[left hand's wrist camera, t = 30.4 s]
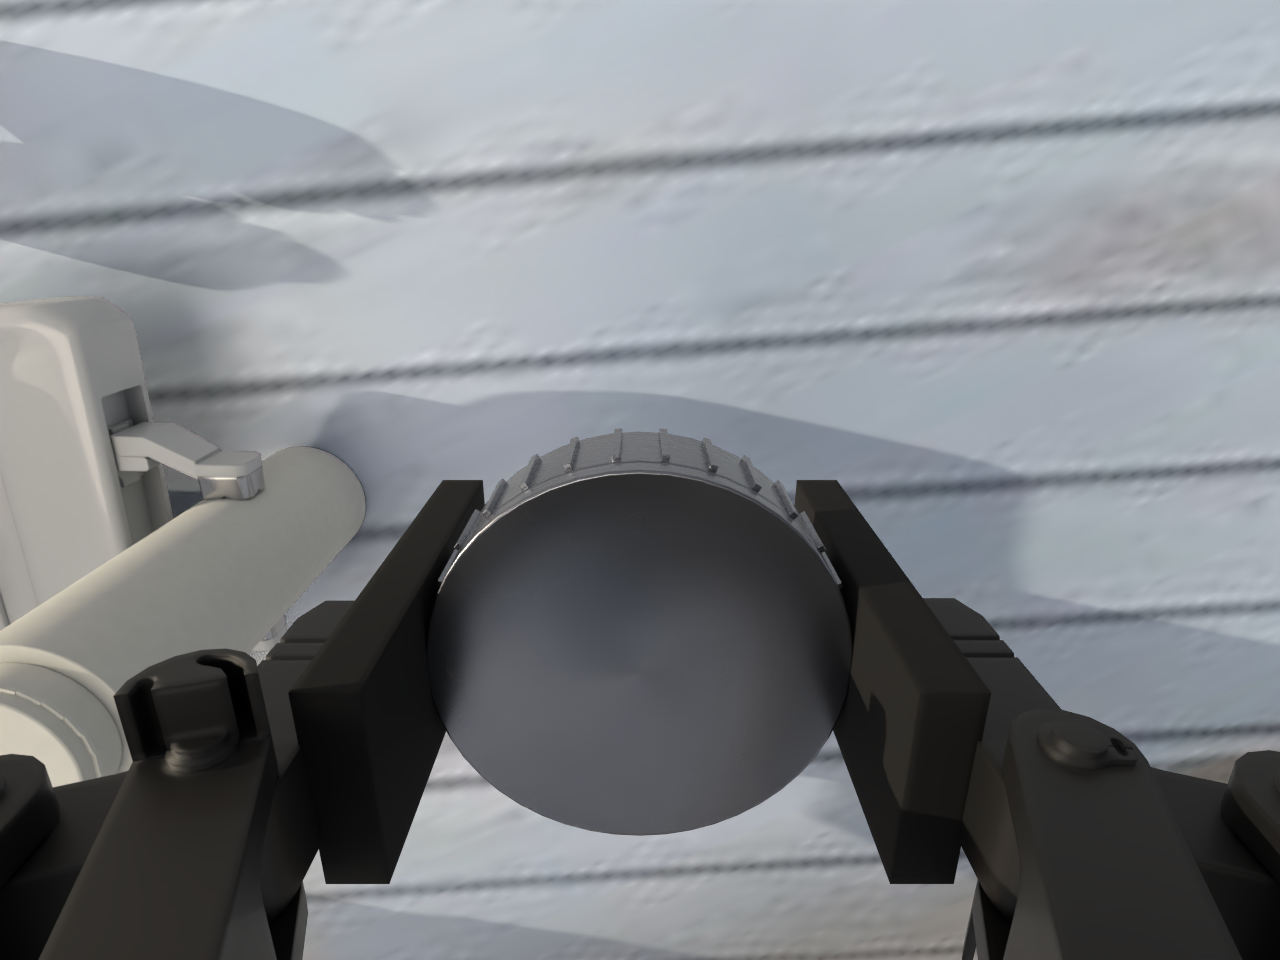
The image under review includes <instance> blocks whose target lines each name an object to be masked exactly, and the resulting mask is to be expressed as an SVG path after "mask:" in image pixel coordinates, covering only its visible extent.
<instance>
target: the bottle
mask: <svg viewBox="0 0 1280 960" xmlns="http://www.w3.org/2000/svg"><path fill="white" fill-rule="evenodd" d="M262 466H263V474H264V482H265V489H263V490H262V491H258V492H257V494H256V495H255V496H253V497H252V498H249V499H245V500H230V499H228V498H227V497H223V498H222V499H216V500H208V499H203V500H202V501H200V502H199V503H197V504H196V505H194V506H193V507H191V508H189V509H188V510H186V511H185V512H183V513H182V514H180V515H179V516H177V517H176V518H174V519H172V520H171V521H169V522H168V523H166V524H165V525H163V526H162V527H160V528H159V529H157V530H155V531H154V532H152V533H151V534H149V535H148V536H146V537H145V538H143V539H141V540H140V541H138V542H137V543H135V544H134V545H132V546H131V547H129V548H128V549H126V550H124V551H123V552H121V553H120V554H118V555H117V556H115V557H114V558H112V559H111V560H109V561H107V562H106V563H104V564H103V565H101V566H100V567H98V568H97V569H95V570H94V571H92V572H90V573H89V574H87V575H86V576H84V577H83V578H81V579H80V580H78V581H77V582H75V583H73V584H72V585H70V586H69V587H67V588H66V589H64V590H63V591H61V592H60V593H58V594H56V595H55V596H53V597H52V598H50V599H49V600H47V601H46V602H44V603H43V604H41V605H39V606H38V607H36V608H35V609H33V610H32V611H30V612H29V613H27V614H25V615H24V616H22V617H21V618H19V619H18V620H16V621H15V622H13V623H12V624H10V625H8V626H7V627H5V628H4V629H2V630H1V631H0V755H7V754H19V755H29V756H34V757H35V758H36V759H38V760H39V761H41V762H42V763H43V764H45V767H46V770H47V773H48V775H49V778H50V781H51V784H52V787H57V786H62V785H66V784H71V783H76V782H81V781H85V780H90V779H95V778H99V777H104V776H109V775H114V774H118V773H121V772H125V771H128V770H129V768H130V766H131V764H132V762H133V761H132V758H131V754H130V751H129V748H128V744H127V741H126V737H125V734H124V731H123V727H122V724H121V721H120V717H119V714H118V710H117V707H116V704H115V700H114V697H113V696H114V694H115V693H116V692H117V691H118V690H119V689H120V688H121V687H122V686H123V685H124V683H125V682H126V681H127V680H129V679H130V678H132V677H134V676H135V675H137V674H138V673H140V672H141V671H143V670H145V669H146V668H148V667H150V666H152V665H155V664H157V663H159V662H162V661H164V660H167V659H169V658H172V657H174V656H178V655H182V654H186V653H190V652H195V651H199V650H207V649H225V648H226V649H232V650H237V651H242V652H245V653H247V654H249V653H250V652H251V651H252V650H253V648H254V647H255V646H256V645H257V644H258V643H259V642H260V641H261V640H262V638H263V637H264V636H265V635H266V634H267V633H268V632H269V631H270V629H271V628H272V627H273V626H274V625H275V624H276V623H277V622H278V621H279V619H280V618H281V617H282V616H283V615H284V614H285V613H286V612H287V610H288V609H289V608H290V607H291V606H292V605H293V604H294V603H295V602H296V600H297V599H298V598H299V597H300V596H301V595H302V594H303V593H304V592H305V590H306V589H307V588H308V587H309V586H310V585H311V584H312V583H313V581H314V580H315V579H316V578H317V577H318V576H319V575H320V574H321V573H322V571H323V570H324V569H325V568H326V567H327V566H328V565H329V564H330V562H331V561H332V560H333V559H334V558H335V557H336V556H337V555H338V554H339V552H340V551H341V550H342V549H343V548H344V547H345V546H346V545H347V543H348V542H349V541H350V540H351V539H352V538H353V537H354V536H355V534H356V533H357V532H358V531H359V529H360V527H361V525H362V523H363V521H364V517H365V511H366V501H365V495H364V492H363V488H362V486H361V484H360V482H359V480H358V478H357V477H356V475H355V474H354V473H353V471H352V470H351V469H350V468H349V467H348V466H347V465H346V464H345V463H344V462H342V461H341V460H340V459H338V458H337V457H335V456H334V455H332V454H330V453H328V452H325V451H322V450H319V449H316V448H311V447H292V448H287V449H284V450H281V451H279V452H276V453H275V454H273V455H271V456H270V457H268V458H267V459H265V460H264V461H262Z"/></svg>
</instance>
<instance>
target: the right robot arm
mask: <svg viewBox="0 0 1280 960" xmlns="http://www.w3.org/2000/svg"><path fill="white" fill-rule="evenodd" d="M163 464H164V465H166V466H169V467H171V468H173V469H175V470H177V471H179V472H181V473H183V474H186V475H188V476H190V477H192V478H194V479H196V480H199V483H200V488H201V493H202V497H203V499H208V500H216V499H222V498H223V497H227V498H228V499H230V500H245V499H249V498H252V497H253V496H255V495H256V494H257V492H258V491H262V490H263V489H265V482H264V474H263V466H262V460H261V454H260V453H258V452H247V451H220V447H218V446H216V445H214V444H213V443H211V442H209V441H207V440H206V439H204V438H202V437H200V436H199V435H197V434H195V433H193V432H192V431H190V430H188V429H186V428H185V427H183V426H181V425H179V424H178V423H173V422H154V419H153V414H152V409H151V404H150V399H149V394H148V389H147V385H146V380H145V375H144V370H143V365H142V360H141V355H140V350H139V345H138V339H137V334H136V329H135V325H134V322H133V320H132V318H131V317H130V316H129V315H128V314H127V313H125V312H124V311H123V310H122V309H120V308H119V307H117V306H116V305H114V304H113V303H111V302H110V301H108V300H107V299H105V298H103V297H98V296H70V297H54V298H43V299H34V300H24V301H15V302H6V303H0V631H1V630H2V629H4V628H5V627H7V626H8V625H10V624H12V623H13V622H15V621H16V620H18V619H19V618H21V617H22V616H24V615H25V614H27V613H29V612H30V611H32V610H33V609H35V608H36V607H38V606H39V605H41V604H43V603H44V602H46V601H47V600H49V599H50V598H52V597H53V596H55V595H56V594H58V593H60V592H61V591H63V590H64V589H66V588H67V587H69V586H70V585H72V584H73V583H75V582H77V581H78V580H80V579H81V578H83V577H84V576H86V575H87V574H89V573H90V572H92V571H94V570H95V569H97V568H98V567H100V566H101V565H103V564H104V563H106V562H107V561H109V560H111V559H112V558H114V557H115V556H117V555H118V554H120V553H121V552H123V551H124V550H126V549H128V548H129V547H131V546H132V545H134V544H135V543H137V542H138V541H140V540H141V539H143V538H145V537H146V536H148V535H149V534H151V533H152V532H154V531H155V530H157V529H159V528H160V527H162V526H163V525H165V524H166V523H168V522H169V521H171V520H172V519H173V514H172V509H171V504H170V499H169V494H168V489H167V484H166V479H165V474H164V469H163ZM286 632H287V625H286V618H285V614H284V615H283V616H282V617H281V618H280V619H279V621H278V622H277V623H276V624H275V625H274V626H273V627H272V628H271V629H270V631H269V632H268V633H267V634H266V635H265V636H264V637H263V638H262V640H261V641H260V642H259V643H258V644H257V645H256V646H255V647H254V648H253V650H252V651H268V650H271V649H272V648H273V647H274V646H275V645H276V644H277V643H280V641H281V640H280V639H281V638H282V636H283V635H284V634H285V633H286Z"/></svg>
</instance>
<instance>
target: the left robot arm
mask: <svg viewBox="0 0 1280 960" xmlns="http://www.w3.org/2000/svg"><path fill="white" fill-rule="evenodd" d="M484 505H485V503H484V491H483V480H443V481H442V482H441V484H440V485H439V486H438V488H437V489H436V491H435V492H434V493H433V495H432V496H431V497H430V499H429V500H428V501H427V503H426V504H425V506H424V507H423V508H422V510H421V511H420V512H419V514H418V515H417V517H416V518H415V519H414V521H413V522H412V523H411V525H410V526H409V528H408V529H407V530H406V532H405V533H404V534H403V536H402V537H401V539H400V540H399V541H398V543H397V544H396V545H395V547H394V548H393V549H392V551H391V552H390V554H389V555H388V556H387V558H386V559H385V560H384V562H383V563H382V565H381V566H380V567H379V569H378V570H377V571H376V573H375V574H374V576H373V577H372V578H371V580H370V581H369V582H368V584H367V585H366V587H365V588H364V589H363V591H362V592H361V593H360V595H359V596H358V598H357V599H356V600H355V601H325V602H323V603H321V604H320V605H318V606H317V607H315V608H313V609H312V610H310V611H309V612H307V613H305V614H304V615H302V616H301V617H299V618H298V619H297V620H296V621H295V622H294V623H293V624H292V626H291V627H290V628H289V629H288V630H287V632H286V633H285V634H284V635H283V636H282V638H281V639H280V640H281V641H280V643H277V644H276V645H275V646H274V647H273V648H272V650H271V651H270V652H269V653H268V654H267V655H266V660H262V661H261V663H260V664H259V665H258V666H257V664H256V660H255V659H253V658H252V657H251V656H249V655H248V654H247V653H245V652H242V651H237V650H232V649H226V648H225V649H207V650H199V651H195V652H190V653H186V654H182V655H178V656H174V657H172V658H169V659H167V660H164V661H162V662H159V663H157V664H155V665H152V666H150V667H148V668H146V669H145V670H143V671H141V672H140V673H138V674H137V675H135V676H134V677H132V678H130V679H129V680H127V681H126V682H125V683H124V685H123V686H122V687H121V688H120V689H119V690H118V691H117V692H116V693H115V694H114V696H113V697H114V700H115V704H116V707H117V710H118V714H119V717H120V721H121V724H122V727H123V731H124V734H125V737H126V741H127V744H128V748H129V751H130V754H131V758H132V761H133V762H132V764H131V766H130V768H129V770H128V771H125V772H121V773H118V774H114V775H109V776H104V777H99V778H95V779H90V780H85V781H81V782H76V783H71V784H66V785H62V786H57V787H52V784H51V781H50V778H49V775H48V773H47V770H46V767H45V764H43V763H42V762H41V761H39V760H38V759H36V758H35V757H34V756H29V755H19V754H7V755H0V960H302V957H303V949H304V941H305V933H306V925H307V917H308V909H307V901H306V895H305V890H304V885H303V879H304V877H305V875H306V873H307V871H308V869H309V867H310V865H311V863H312V861H313V859H314V857H315V855H316V853H317V851H318V849H319V852H320V857H321V862H322V867H323V872H324V877H325V882H326V884H389V883H390V881H391V878H392V875H393V872H394V870H395V867H396V864H397V862H398V859H399V856H400V854H401V851H402V848H403V846H404V843H405V840H406V838H407V835H408V832H409V829H410V827H411V824H412V821H413V819H414V816H415V813H416V811H417V808H418V805H419V803H420V800H421V797H422V794H423V792H424V789H425V786H426V784H427V781H428V778H429V776H430V773H431V770H432V768H433V765H434V762H435V759H436V757H437V754H438V751H439V749H440V746H441V743H442V741H443V738H444V735H445V733H446V729H445V727H444V725H443V723H442V722H441V720H440V718H439V715H438V712H437V709H436V707H435V704H434V701H433V698H432V695H431V688H430V680H429V672H428V663H427V654H426V637H427V628H428V621H429V618H430V614H431V610H432V607H433V603H434V599H435V597H436V595H437V592H438V590H439V588H440V587H437V586H436V584H437V581H438V579H439V577H440V575H441V573H442V571H443V570H444V568H445V566H446V564H447V562H448V561H449V559H450V557H451V555H452V553H453V551H454V550H455V548H454V546H455V545H456V543H457V541H458V539H459V537H460V536H461V534H462V532H463V530H464V528H465V527H466V525H467V523H468V521H469V519H470V517H471V516H472V514H473V512H474V511H475V509H477V510H478V511H480V512H481V510H482V509H483V507H484ZM795 507H796V509H797V510H798V512H799V514H800V513H802V512H803V511H805V513H806V514H807V516H808V518H809V519H810V521H811V523H812V525H813V527H814V529H815V530H816V532H817V534H818V536H819V538H820V539H821V541H822V543H823V545H824V547H825V549H826V551H825V552H826V554H827V556H828V558H829V560H830V562H831V564H832V565H833V567H834V569H835V571H836V573H837V575H838V576H839V578H840V580H841V582H842V585H843V589H841V590H840V591H841V593H842V595H843V597H844V601H845V604H846V608H847V611H848V615H849V619H850V623H851V631H852V640H853V657H852V667H851V675H850V683H849V689H848V694H847V697H846V700H845V703H844V706H843V709H842V712H841V714H840V717H839V719H838V721H837V723H836V725H835V727H834V729H833V731H834V734H835V736H836V739H837V742H838V745H839V747H840V750H841V753H842V755H843V758H844V761H845V763H846V766H847V769H848V771H849V774H850V777H851V780H852V782H853V785H854V788H855V790H856V793H857V796H858V798H859V801H860V804H861V806H862V809H863V812H864V815H865V817H866V820H867V823H868V825H869V828H870V831H871V833H872V836H873V839H874V841H875V844H876V847H877V850H878V852H879V855H880V858H881V860H882V863H883V866H884V868H885V871H886V874H887V876H888V879H889V882H890V884H954V879H955V874H956V869H957V864H958V859H959V854H960V849H961V846H962V848H963V850H964V852H965V854H966V856H967V858H968V860H969V862H970V864H971V866H972V868H973V870H974V872H975V874H976V876H977V878H978V881H977V885H976V890H975V895H974V899H973V904H972V909H971V914H970V918H969V923H968V928H967V932H966V937H965V942H964V948H963V956H962V960H973V957H974V952H975V948H976V947H977V955H978V960H1280V752H1277V751H1270V750H1267V751H1257V752H1248V753H1246V754H1245V755H1243V756H1242V757H1241V758H1239V759H1238V760H1237V761H1236V762H1235V765H1234V768H1233V771H1232V773H1231V776H1230V779H1229V782H1228V784H1225V783H1220V782H1215V781H1211V780H1206V779H1201V778H1196V777H1191V776H1187V775H1182V774H1177V773H1172V772H1168V771H1163V770H1160V769H1156V768H1152V767H1150V765H1149V763H1148V761H1147V759H1146V758H1145V757H1144V756H1143V754H1142V753H1141V752H1140V750H1139V749H1138V748H1137V746H1136V745H1135V744H1134V743H1133V742H1131V741H1130V740H1128V739H1127V738H1126V737H1124V736H1123V735H1122V734H1120V733H1119V732H1118V731H1116V730H1115V729H1113V728H1111V727H1109V726H1107V725H1105V724H1103V723H1100V722H1098V721H1096V720H1094V719H1092V718H1090V717H1087V716H1083V715H1079V714H1075V713H1072V712H1068V711H1064V710H1061V708H1060V707H1059V706H1058V705H1057V704H1056V703H1055V701H1054V700H1053V699H1052V698H1051V697H1050V695H1049V694H1048V693H1047V692H1046V691H1045V689H1044V688H1043V687H1042V686H1041V685H1040V684H1039V682H1038V681H1037V680H1036V679H1035V678H1034V676H1033V675H1032V674H1031V673H1030V672H1029V671H1028V669H1027V668H1026V667H1025V666H1024V665H1023V663H1022V662H1021V661H1020V660H1019V659H1018V658H1014V653H1013V652H1012V650H1011V649H1010V648H1009V647H1008V646H1007V644H1006V643H1005V642H1004V641H1003V640H1000V638H999V637H1000V636H999V635H998V634H997V633H996V631H995V630H994V629H993V628H992V627H991V626H990V624H989V623H988V622H987V621H986V620H985V618H984V617H983V616H982V615H980V614H979V613H977V612H975V611H974V610H972V609H970V608H969V607H967V606H966V605H964V604H962V603H961V602H959V601H958V600H956V599H954V598H922V597H921V595H920V594H919V593H918V591H917V590H916V589H915V587H914V586H913V584H912V583H911V582H910V580H909V579H908V578H907V576H906V575H905V573H904V572H903V571H902V569H901V568H900V567H899V565H898V564H897V562H896V561H895V560H894V558H893V557H892V556H891V554H890V553H889V552H888V550H887V549H886V547H885V546H884V545H883V543H882V542H881V541H880V539H879V538H878V536H877V535H876V534H875V532H874V531H873V530H872V528H871V527H870V525H869V524H868V523H867V521H866V520H865V519H864V517H863V516H862V514H861V513H860V512H859V510H858V509H857V508H856V506H855V505H854V503H853V502H852V501H851V499H850V498H849V497H848V495H847V494H846V493H845V491H844V490H843V488H842V487H841V486H840V484H839V483H838V482H837V480H797V485H796V498H795Z"/></svg>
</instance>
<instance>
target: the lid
mask: <svg viewBox="0 0 1280 960" xmlns="http://www.w3.org/2000/svg"><path fill="white" fill-rule="evenodd" d="M454 548H455V550H454V551H453V553H452V555H451V557H450V559H449V561H448V562H447V564H446V566H445V568H444V570H443V571H442V573H441V575H440V577H439V579H438V581H437V584H436V586H437V587H440V588H439V590H438V592H437V595H436V597H435V599H434V603H433V607H432V610H431V614H430V618H429V621H428V628H427V637H426V654H427V663H428V672H429V680H430V688H431V695H432V698H433V701H434V704H435V707H436V709H437V712H438V715H439V718H440V720H441V722H442V723H443V725H444V727H445V729H446V731H447V733H448V735H449V737H450V739H451V740H452V741H453V743H454V744H455V746H456V747H457V748H458V750H459V751H460V752H461V754H462V755H463V757H464V758H465V759H466V760H467V761H468V762H469V763H470V764H471V766H472V767H473V768H474V769H475V770H476V771H477V772H478V773H479V774H480V775H481V776H482V777H483V778H484V779H486V780H487V781H488V782H489V783H490V784H492V785H493V786H494V787H495V788H496V789H498V790H499V791H500V792H502V793H503V794H505V795H506V796H508V797H509V798H511V799H512V800H514V801H515V802H517V803H519V804H520V805H522V806H524V807H526V808H528V809H530V810H532V811H534V812H536V813H538V814H540V815H542V816H545V817H547V818H550V819H553V820H555V821H558V822H561V823H563V824H566V825H570V826H574V827H578V828H582V829H586V830H590V831H596V832H603V833H609V834H619V835H639V836H640V835H660V834H670V833H676V832H683V831H689V830H693V829H697V828H701V827H705V826H708V825H712V824H716V823H718V822H721V821H723V820H726V819H729V818H731V817H734V816H737V815H739V814H741V813H743V812H745V811H747V810H749V809H751V808H753V807H755V806H757V805H759V804H760V803H762V802H763V801H765V800H766V799H768V798H769V797H771V796H772V795H774V794H775V793H777V792H778V791H780V790H781V789H782V788H784V787H785V786H786V785H787V784H788V783H790V782H791V781H792V780H793V779H794V778H795V777H797V776H798V775H799V774H800V773H801V772H802V771H803V770H804V768H805V767H806V766H807V765H808V764H809V763H810V762H811V761H812V760H813V759H814V758H815V756H816V755H817V754H818V752H819V751H820V749H821V748H822V747H823V745H824V744H825V742H826V741H827V739H828V738H829V736H830V734H831V732H832V731H833V729H834V727H835V725H836V723H837V721H838V719H839V717H840V714H841V712H842V709H843V706H844V703H845V700H846V697H847V694H848V689H849V683H850V675H851V667H852V657H853V640H852V631H851V623H850V619H849V615H848V611H847V608H846V604H845V601H844V597H843V595H842V593H841V591H840V590H841V589H843V585H842V582H841V580H840V578H839V576H838V575H837V573H836V571H835V569H834V567H833V565H832V564H831V562H830V560H829V558H828V556H827V554H826V552H825V551H826V549H825V547H824V545H823V543H822V541H821V539H820V538H819V536H818V534H817V532H816V530H815V529H814V527H813V525H812V523H811V521H810V519H809V518H808V516H807V514H806V513H805V511H803V512H802V513H800V514H799V512H798V510H797V509H796V507H795V506H794V504H793V503H792V502H791V500H790V498H789V496H788V494H787V492H786V490H785V488H784V486H783V484H782V483H781V482H779V481H777V482H776V483H775V484H774V483H773V482H772V481H771V480H770V479H768V478H767V477H766V476H765V475H764V474H763V473H762V472H760V471H759V470H758V469H756V468H754V467H753V465H752V463H751V461H750V459H749V458H748V457H746V456H743V457H742V459H741V458H739V457H737V456H735V455H733V454H731V453H729V452H727V451H724V450H722V449H720V448H718V447H716V446H713V445H712V444H711V441H710V440H709V439H706V438H703V441H702V442H701V441H698V440H695V439H692V438H687V437H681V436H676V435H671V434H667V430H666V429H660V431H659V433H650V432H629V433H622V429H615V431H614V434H608V435H603V436H597V437H592V438H587V439H584V440H581V441H579V439H578V437H575V438H572V439H571V441H570V444H569V445H566V446H563V447H561V448H558V449H556V450H554V451H552V452H550V453H548V454H546V455H544V456H542V457H539V456H538V454H536V455H534V456H533V457H531V460H530V462H529V464H528V465H527V466H526V467H524V468H523V469H521V470H520V471H518V472H517V473H516V474H515V475H514V476H513V477H511V478H510V479H509V480H508V481H507V482H506V481H505V480H504V479H502V480H500V481H499V482H498V484H497V486H496V488H495V490H494V492H493V494H492V496H491V497H490V499H489V501H488V502H487V503H486V504H485V505H484V507H483V509H482V510H481V512H480V511H478V510H477V509H475V511H474V512H473V514H472V516H471V517H470V519H469V521H468V523H467V525H466V527H465V528H464V530H463V532H462V534H461V536H460V537H459V539H458V541H457V543H456V545H455V546H454Z"/></svg>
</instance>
